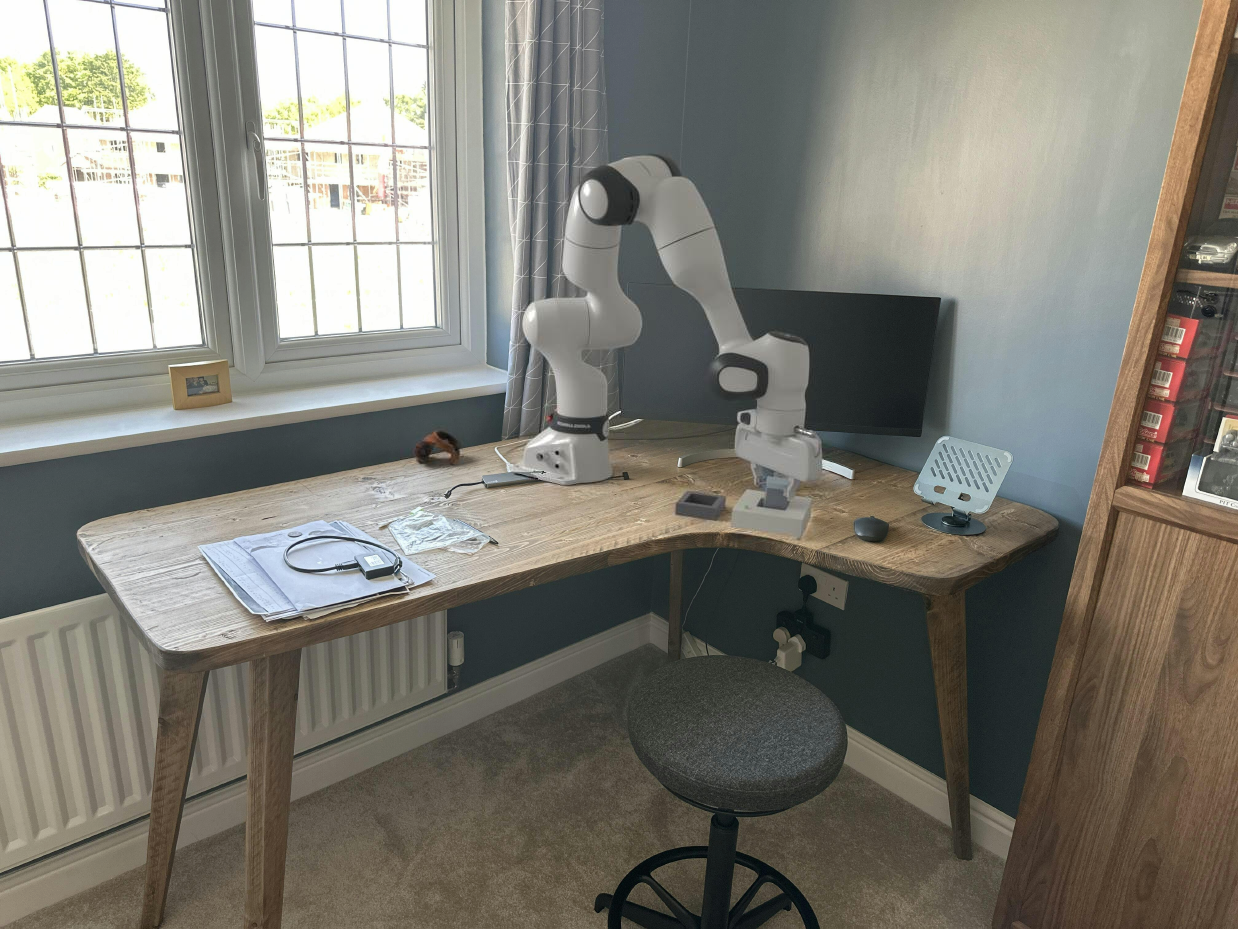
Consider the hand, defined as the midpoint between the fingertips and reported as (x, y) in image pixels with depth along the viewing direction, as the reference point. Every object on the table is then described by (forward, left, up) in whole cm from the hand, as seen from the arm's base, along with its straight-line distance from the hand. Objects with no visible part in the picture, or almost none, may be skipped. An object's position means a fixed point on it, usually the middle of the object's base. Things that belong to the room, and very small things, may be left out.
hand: (774, 491), depth 158 cm
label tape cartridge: (-3, +19, -7) cm, 21 cm away
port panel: (0, 0, -6) cm, 6 cm away
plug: (0, 0, -6) cm, 6 cm away
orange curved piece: (-80, +7, -7) cm, 80 cm away
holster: (-14, -1, -6) cm, 15 cm away
